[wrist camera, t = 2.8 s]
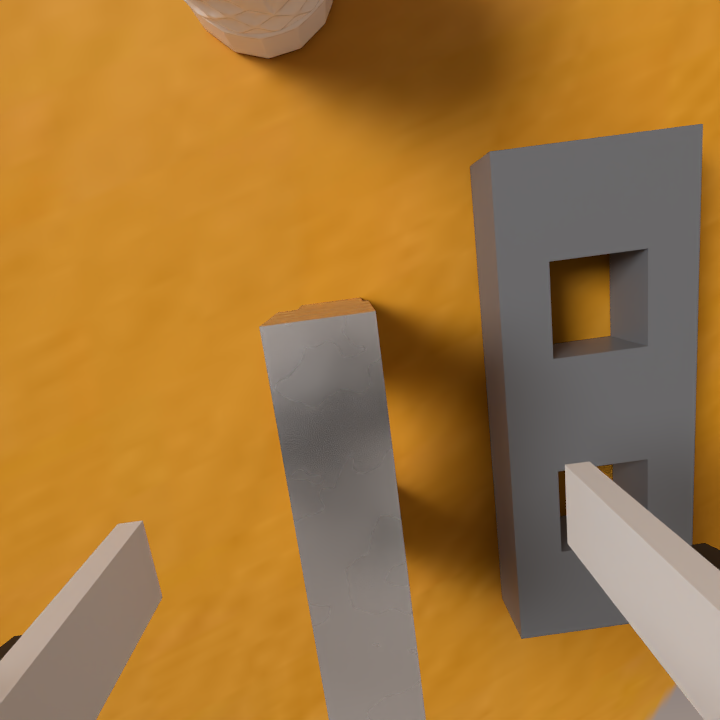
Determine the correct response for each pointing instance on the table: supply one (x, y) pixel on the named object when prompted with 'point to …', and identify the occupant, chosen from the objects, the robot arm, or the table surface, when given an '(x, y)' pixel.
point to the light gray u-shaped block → (345, 506)
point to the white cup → (262, 23)
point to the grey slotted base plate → (587, 350)
